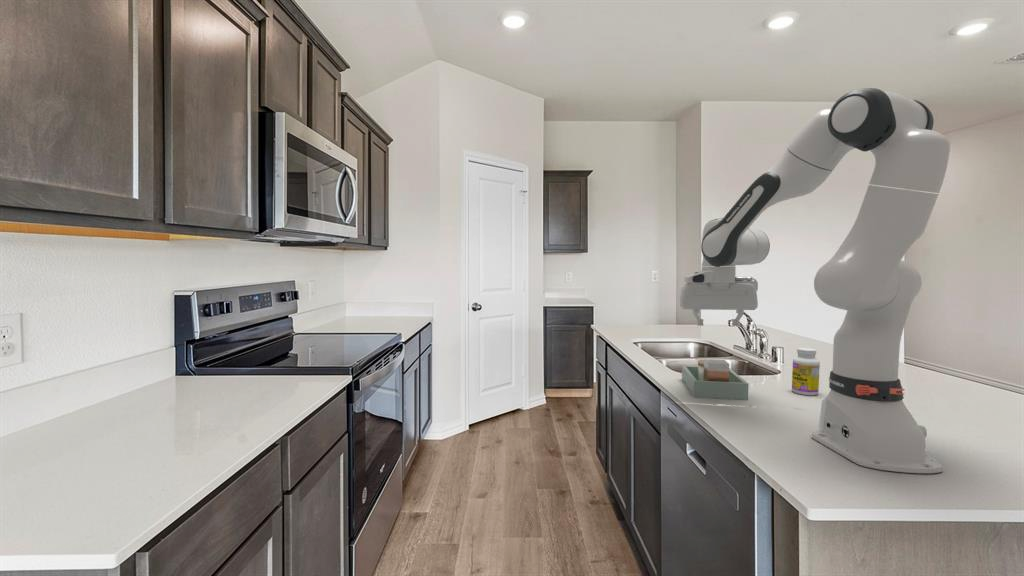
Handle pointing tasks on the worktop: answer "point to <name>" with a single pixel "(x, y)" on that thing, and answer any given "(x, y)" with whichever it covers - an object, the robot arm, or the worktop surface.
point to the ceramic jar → (700, 370)
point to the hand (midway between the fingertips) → (717, 325)
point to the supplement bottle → (805, 372)
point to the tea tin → (716, 370)
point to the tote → (714, 385)
